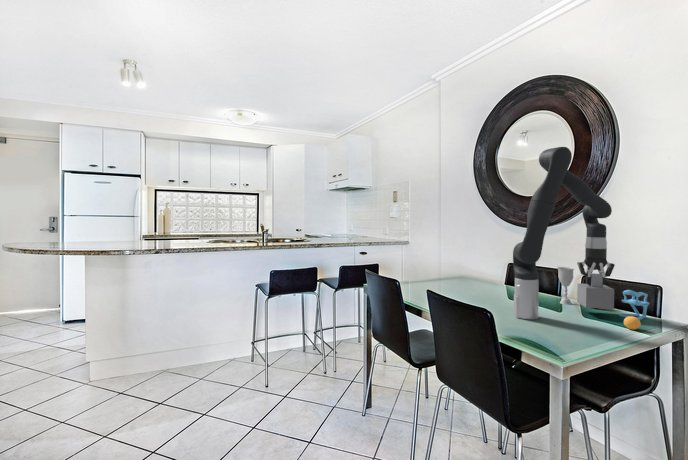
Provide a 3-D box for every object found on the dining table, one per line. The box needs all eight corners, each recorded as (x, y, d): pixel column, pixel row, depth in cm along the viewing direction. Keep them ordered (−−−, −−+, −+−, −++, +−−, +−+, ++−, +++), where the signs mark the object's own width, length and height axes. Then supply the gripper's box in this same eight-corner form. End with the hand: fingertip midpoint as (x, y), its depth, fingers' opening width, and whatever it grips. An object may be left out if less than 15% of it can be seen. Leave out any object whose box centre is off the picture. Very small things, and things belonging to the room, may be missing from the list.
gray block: (585, 307, 143) (586, 275, 143) (577, 302, 153) (577, 271, 152) (613, 309, 140) (614, 276, 140) (602, 303, 150) (603, 272, 149)
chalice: (574, 302, 167) (574, 267, 167) (574, 305, 161) (574, 269, 161) (557, 300, 171) (557, 266, 171) (557, 303, 165) (557, 268, 165)
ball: (627, 330, 125) (627, 317, 125) (621, 326, 130) (621, 314, 130) (643, 331, 124) (643, 318, 123) (636, 327, 128) (636, 315, 128)
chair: (652, 319, 138) (652, 291, 138) (637, 321, 136) (637, 292, 136) (632, 314, 146) (632, 287, 145) (618, 315, 144) (618, 288, 144)
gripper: (580, 247, 144) (579, 286, 145) (619, 248, 140) (618, 288, 140) (574, 246, 151) (573, 282, 152) (610, 246, 147) (610, 284, 148)
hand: (595, 285), depth 146 cm, fingers closed on gray block, 4 cm apart
